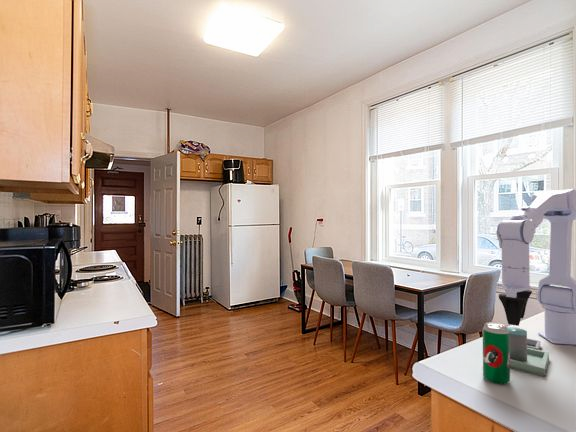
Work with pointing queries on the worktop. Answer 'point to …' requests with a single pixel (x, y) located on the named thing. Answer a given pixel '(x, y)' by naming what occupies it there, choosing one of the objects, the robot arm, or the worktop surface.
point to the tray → (532, 362)
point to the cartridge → (518, 344)
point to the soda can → (496, 353)
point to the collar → (534, 343)
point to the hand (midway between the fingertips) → (516, 321)
